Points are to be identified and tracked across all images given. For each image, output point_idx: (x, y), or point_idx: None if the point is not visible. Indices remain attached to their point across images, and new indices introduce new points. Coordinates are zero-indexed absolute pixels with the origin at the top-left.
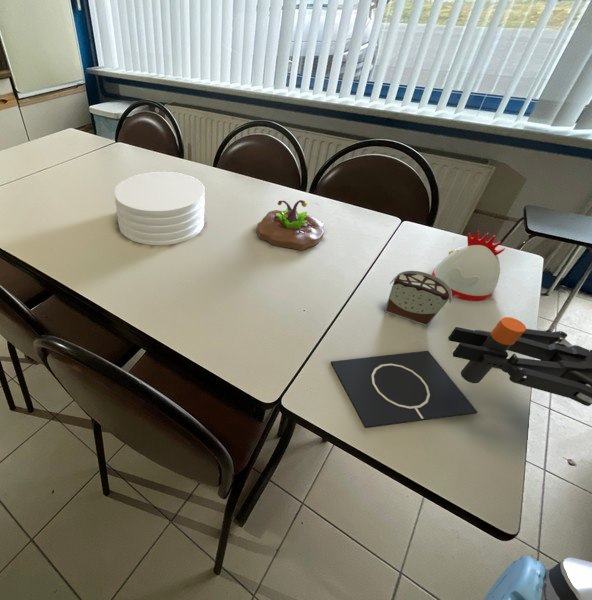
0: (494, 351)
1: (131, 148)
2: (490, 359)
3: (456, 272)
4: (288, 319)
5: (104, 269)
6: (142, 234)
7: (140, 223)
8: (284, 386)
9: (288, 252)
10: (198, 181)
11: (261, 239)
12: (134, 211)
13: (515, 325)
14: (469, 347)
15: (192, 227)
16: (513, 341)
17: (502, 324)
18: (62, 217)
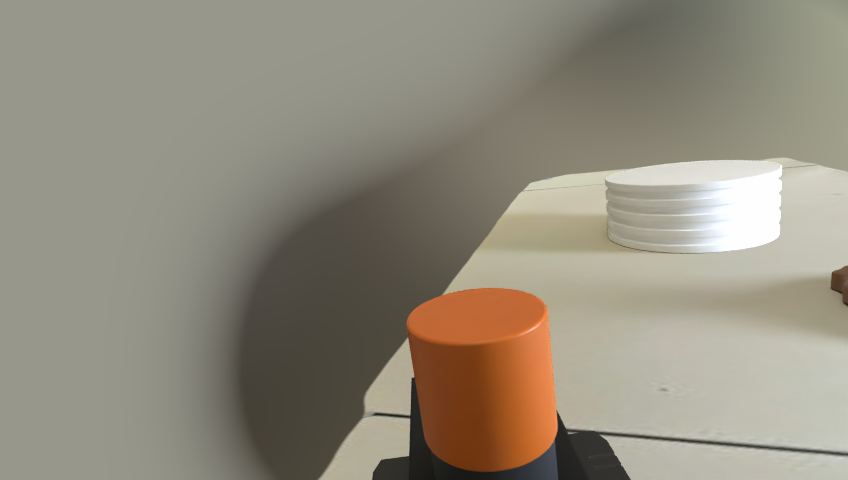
0: (417, 463)
1: (832, 170)
2: (377, 477)
3: None
4: (602, 377)
5: (527, 246)
6: (611, 224)
7: (613, 207)
8: (404, 412)
9: None
10: (776, 168)
11: (835, 289)
12: (607, 185)
13: (464, 314)
14: (411, 395)
15: (693, 231)
16: (426, 420)
17: (449, 294)
18: (587, 209)
